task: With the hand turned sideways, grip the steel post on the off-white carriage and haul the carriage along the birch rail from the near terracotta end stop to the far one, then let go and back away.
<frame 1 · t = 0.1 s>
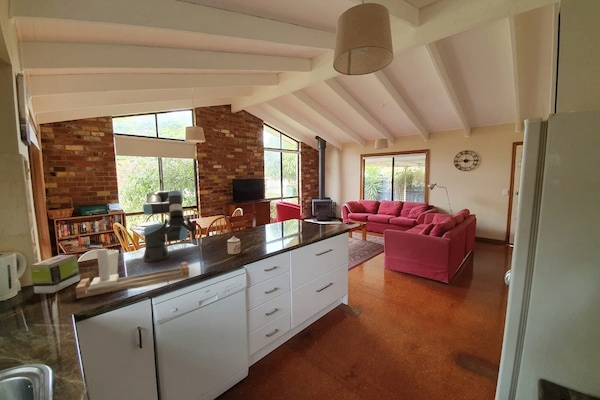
hand: (179, 243, 153), 15 cm above the countertop, tool tilted 35°, fingers open, 13 cm apart
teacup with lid: (235, 252, 184), on the countertop
foam cup: (110, 274, 146), on the countertop
rail: (138, 282, 134), on the countertop
carriage: (103, 266, 126), point 11 cm above the countertop, slide at -14.0 cm
tea box: (58, 287, 131), on the countertop
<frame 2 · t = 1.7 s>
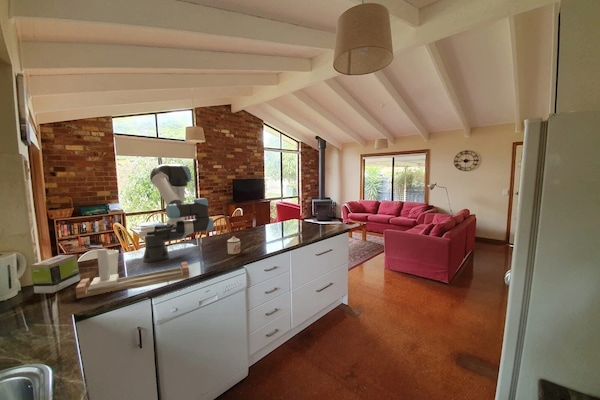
hand: (140, 232, 133), 27 cm above the countertop, tool horizontal, fingers open, 13 cm apart
nothing on the countertop moved.
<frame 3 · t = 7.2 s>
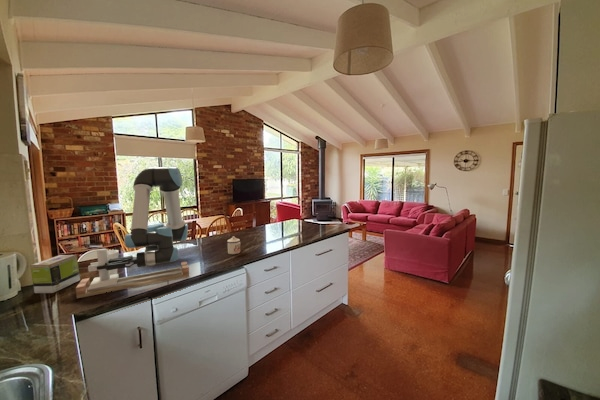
hand: (89, 267, 124), 12 cm above the countertop, tool horizontal, fingers closed on carriage, 4 cm apart
carriage: (103, 266, 126), point 11 cm above the countertop, slide at -14.0 cm, touching gripper
everything else where it was.
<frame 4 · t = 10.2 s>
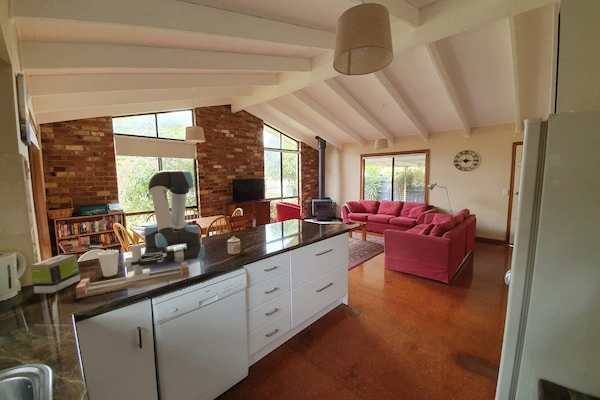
hand: (124, 262, 130), 12 cm above the countertop, tool horizontal, fingers open, 6 cm apart
carriage: (137, 261, 133), point 11 cm above the countertop, slide at 0.2 cm, touching gripper
everything else where it was.
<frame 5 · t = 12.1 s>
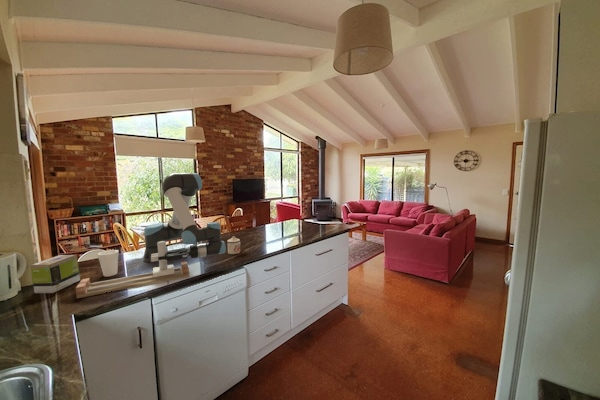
hand: (151, 257, 136), 12 cm above the countertop, tool horizontal, fingers closed on carriage, 4 cm apart
carriage: (162, 257, 139), point 11 cm above the countertop, slide at 11.9 cm, touching gripper
everything else where it was.
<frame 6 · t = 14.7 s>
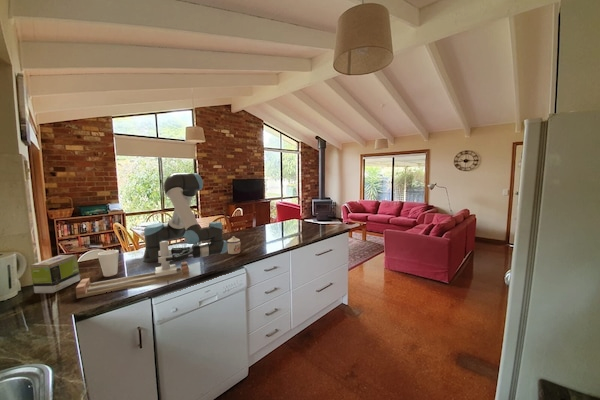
hand: (158, 256, 138), 12 cm above the countertop, tool horizontal, fingers open, 13 cm apart
carriage: (165, 256, 139), point 11 cm above the countertop, slide at 13.0 cm
everything else where it was.
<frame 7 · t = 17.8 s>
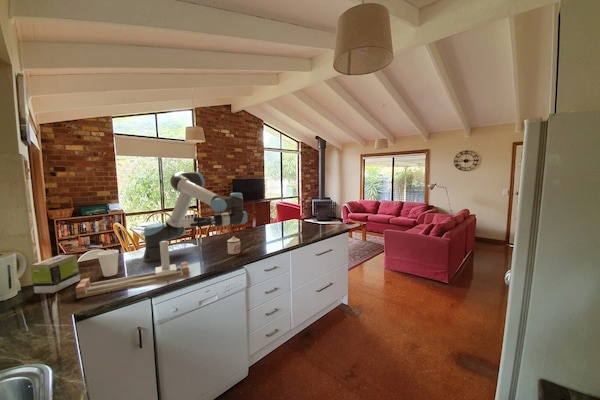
hand: (182, 223, 142), 29 cm above the countertop, tool horizontal, fingers open, 13 cm apart
nothing on the countertop moved.
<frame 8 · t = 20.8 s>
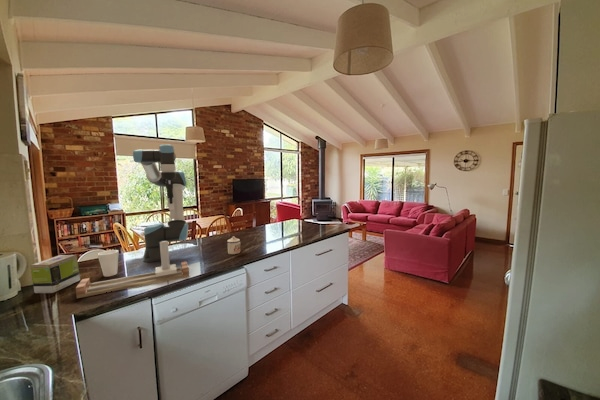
hand: (170, 208, 150), 37 cm above the countertop, tool pointing down, fingers open, 13 cm apart
nothing on the countertop moved.
at the end: carriage slide at 13.0 cm; the gripper is holding nothing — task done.
